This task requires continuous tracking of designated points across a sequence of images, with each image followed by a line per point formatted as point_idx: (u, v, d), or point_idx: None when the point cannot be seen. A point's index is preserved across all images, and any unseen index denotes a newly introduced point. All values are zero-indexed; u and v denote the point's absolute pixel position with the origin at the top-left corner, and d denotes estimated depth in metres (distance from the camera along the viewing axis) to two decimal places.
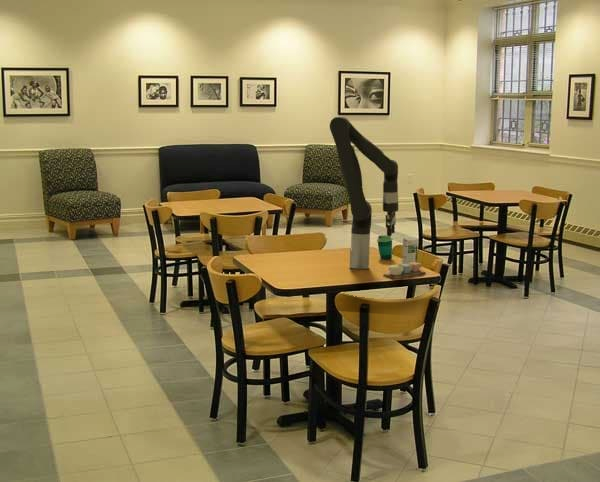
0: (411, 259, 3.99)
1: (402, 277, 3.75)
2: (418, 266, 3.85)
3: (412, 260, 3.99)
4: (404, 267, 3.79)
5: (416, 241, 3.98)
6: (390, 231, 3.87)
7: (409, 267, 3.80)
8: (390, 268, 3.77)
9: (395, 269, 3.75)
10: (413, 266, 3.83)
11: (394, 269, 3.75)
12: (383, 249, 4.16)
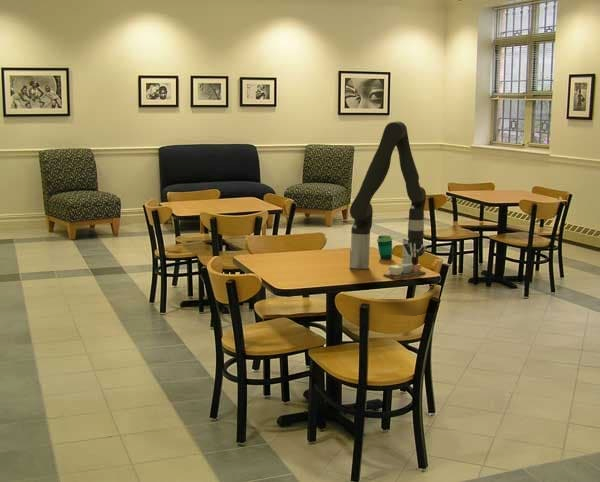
0: (411, 259, 3.99)
1: (402, 277, 3.75)
2: (418, 267, 3.85)
3: None
4: (404, 267, 3.79)
5: None
6: (412, 259, 3.86)
7: (409, 267, 3.80)
8: (390, 268, 3.77)
9: (395, 269, 3.75)
10: (413, 267, 3.83)
11: (394, 269, 3.75)
12: (383, 249, 4.16)
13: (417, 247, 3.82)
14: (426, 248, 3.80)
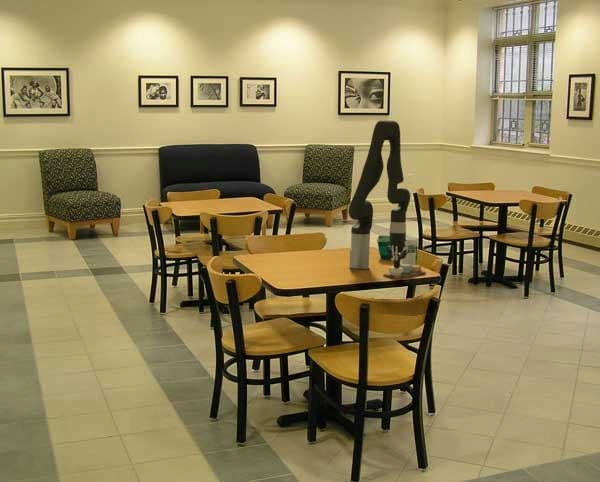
0: (411, 259, 3.99)
1: (402, 277, 3.75)
2: (418, 268, 3.85)
3: (412, 260, 3.99)
4: (404, 267, 3.79)
5: (416, 241, 3.98)
6: (394, 262, 3.77)
7: (409, 267, 3.80)
8: (390, 269, 3.77)
9: (395, 270, 3.75)
10: (413, 268, 3.83)
11: (394, 270, 3.75)
12: (383, 249, 4.16)
13: (399, 250, 3.73)
14: (408, 251, 3.72)
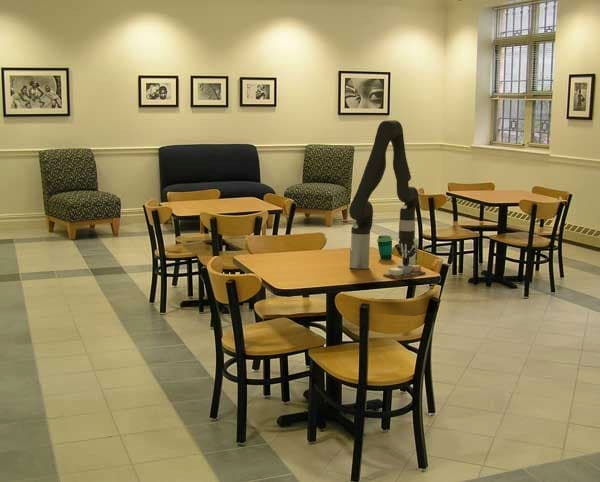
0: (411, 259, 3.99)
1: (402, 277, 3.75)
2: (418, 268, 3.85)
3: (412, 260, 3.99)
4: (404, 267, 3.79)
5: (416, 241, 3.98)
6: (403, 260, 3.81)
7: (409, 268, 3.80)
8: (390, 271, 3.77)
9: (395, 272, 3.75)
10: (413, 268, 3.83)
11: (394, 272, 3.75)
12: (383, 249, 4.16)
13: (408, 248, 3.78)
14: (417, 249, 3.76)
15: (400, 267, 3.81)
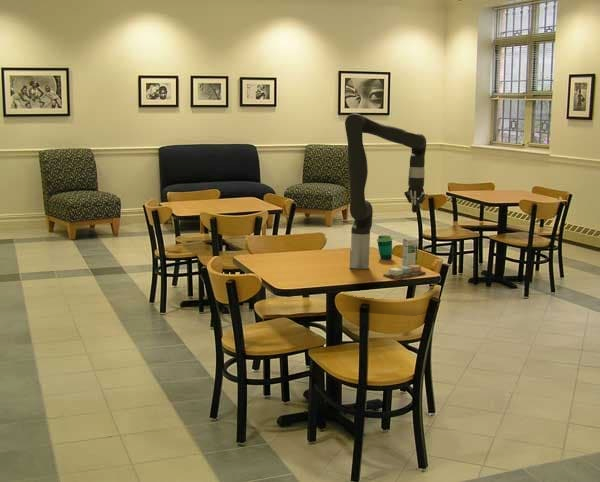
0: (411, 259, 3.99)
1: (402, 277, 3.75)
2: (418, 268, 3.85)
3: (412, 260, 3.99)
4: (404, 270, 3.79)
5: (416, 241, 3.98)
6: (412, 207, 3.86)
7: (409, 270, 3.81)
8: (390, 271, 3.77)
9: (395, 272, 3.75)
10: (413, 268, 3.83)
11: (394, 272, 3.75)
12: (383, 249, 4.16)
13: (417, 194, 3.83)
14: (426, 195, 3.81)
15: None
